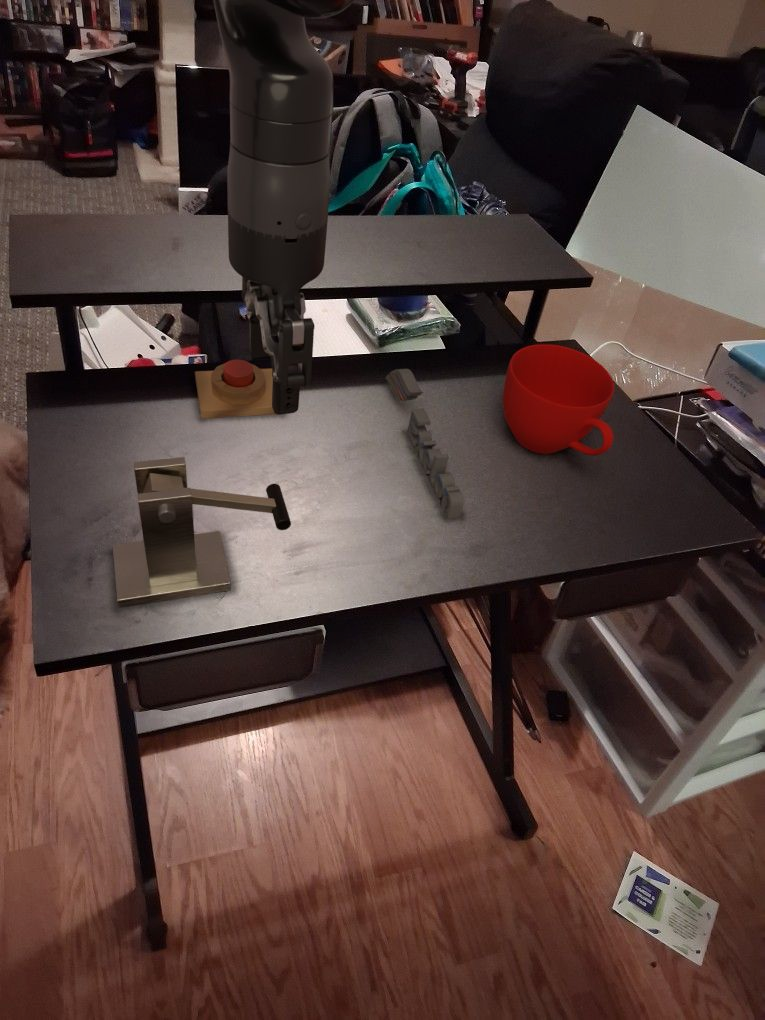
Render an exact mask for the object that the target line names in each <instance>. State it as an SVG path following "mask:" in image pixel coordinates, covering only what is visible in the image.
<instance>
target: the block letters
mask: <svg viewBox="0 0 765 1020" xmlns="http://www.w3.org/2000/svg"><path fill="white" fill-rule="evenodd" d="M413 373H414V372H413V371H412V370H410V369H409V368H396V369H394V370H391V371H390V372H389V373H388V374H387V375H386V376H385V378H384V379H385V380H386V381H387V383H388V386H389V387H390V390H391V392H392V395H393V396H394V398H395V399H396V400H397V401H399V402H405V401H413V400H416V399H418V398H419V396H422V395H423V393H424V391H423V390H422V388H421V387H420V385H419V383H418V381H417V380H416V378H415V375H414V374H413ZM431 422H432V421H431V419H430V417H429V416H428V413H427V412H426V410H425V408H424V407H422V408H413V409H411V413H410V417H409V422H408V427H407V432H406V435H407V437H408V439H409V442H410V444H411V446H412V447H413V448H414V449H413V450H414V452H415V453H416V454H417V453H418V460H419V463H421V464H422V469H423V471H424V473H425V474H426V475H429V483H430V485H431V487H433V492H434V494H435V497H436V498H437V499H441V501H440V507H441V509H447V510H446V512H445V517H446V519H447V520H450V519H458V518H461V515H462V513H463V509H464V505H465V497H464V495H463V492H462V491H461V489H460V487H459V486H458V485H456V481H455V476H454V475H453V474H452V472H446V469H447V466H448V463H449V459H450V456H449V454H448V453H442V451H441V450H440V448H434V447H435V446H437V442H436V440H434V439H433V434H432V431H431V430H428V428H427V427H426V426H430V425H431Z"/></svg>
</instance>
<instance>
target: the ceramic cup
mask: <svg viewBox="0 0 765 1020" xmlns="http://www.w3.org/2000/svg"><path fill="white" fill-rule="evenodd" d="M614 392H615V383H614V380H613V377H612V376H611V374H610V372H609V371H608V370H607V368H605V367H604V366H603V365H602V364H601V363H600V362H598V361H597V360H596V359H594V358H592V357H591V356H589V355H587V354H586V353H584V352H581V351H579V350H576V349H573V348H570V347H567V346H562V345H558V344H551V343H550V344H548V343H547V344H546V343H539V344H532V345H527V346H525V347H522V348H520V349H519V350H517V351H516V352H514V354H513V355H512V357H511V359H510V360H509V363H508V366H507V369H506V373H505V379H504V385H503V393H502V408H503V415H504V418H505V421H506V424H507V426H508V428H509V429H510V431H511V433H512V434H513V436H514V438H515V440H516V441H517V443H519V444H520V445H521V446H522V447H524V448H525V449H527V450H529V451H531V452H534V453H539V454H552V453H557V452H558V451H562V450H565V449H567V448H572V449H573V450H575V451H577V452H580V453H581V454H584V455H587V456H598V455H603V454H604V453H606V452H607V451H608V450H610V449H611V447H612V445H613V442H614V433H613V430H612V428H611V427H610V425H609V424H607V423H606V422H605V421H604V420H602V419H601V418H602V416H603V414H604V413H605V411H606V410H607V407H608V406H609V404H610V402H611V400H612V398H613V396H614ZM593 428H597V429H598V430H599V431H600V433H601V435H602V443H601V445H600V447H599V448H592V447H591V446H590V447H589V446H587V445H585V444H583V443H581V442H580V441H581V440H583V439H584V438H585V437H586V436H587V435H588V434H590V433H591V431H592V430H593Z"/></svg>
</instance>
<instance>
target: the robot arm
mask: <svg viewBox="0 0 765 1020" xmlns="http://www.w3.org/2000/svg"><path fill="white" fill-rule="evenodd" d="M212 1H213V6H214V10H215V15H216V20H217V21H216V22H217V25H218V32H219V35H220V40H221V45H222V47H223V52H224V55H225V59H226V63H227V67H228V73H229V135H230V140H229V154H228V161H227V169H226V171H227V172H226V183H227V184H226V186H227V188H226V189H227V190H226V191H227V194H226V195H227V238H228V239H227V240H228V241H227V242H228V243H227V244H228V261H229V264H230V267H232V269H233V270H234V271H235V272H236V273H237V274H238V275H239V276H241V294H240V295H241V299H242V301H243V303H245V306H246V309H245V316H246V317H247V319H248V321H249V324H248V326H249V329H248V330H249V332H248V336H249V339H248V341H249V342H248V343H249V344H248V345H249V346H248V350H249V353H250V356H251V357H252V358H267V357H270V363H271V369H272V377H273V386H272V408H273V411H274V413H275V414H274V415H277V416H278V415H288V414H295V413H296V412H298V410H299V406H300V392H301V391H300V390H301V387H310V386H311V385H312V380H313V378H312V374H313V356H314V355H313V353H314V337H315V322H314V320H313V318H312V317H306V318H305V313H306V311H307V308H306V299H305V294H304V292H301V290H302V288H304V287H305V286H306V285H307V284H309V283H310V282H312V281H314V280H316V279H317V278H318V277H319V276H320V275H321V273H322V272H323V270H324V266H325V257H326V247H327V246H326V244H327V233H328V220H329V208H330V195H331V163H330V162H331V161H330V155H331V153H330V152H331V151H330V150H331V140H332V128H333V116H334V112H333V111H334V99H335V98H334V96H335V94H334V93H335V83H334V75H333V71H332V69H331V68H332V67H331V66H330V64H329V63H328V62H327V61H326V59H325V58H324V57H323V55H321V54H320V52H319V51H318V49H316V47H315V46H314V44H313V43H312V41H311V40H310V38H309V35H308V32H307V27H306V22H305V18H306V19H312V20H321V19H327V18H331V17H334V16H336V15H339V14H340V13H342V12H343V11H345V10H346V9H348V8H349V7H350V6H351V5H352V4H353V3H354V1H355V0H212ZM276 336H277V337H278V341H277V342H276V341H275V337H276Z"/></svg>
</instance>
